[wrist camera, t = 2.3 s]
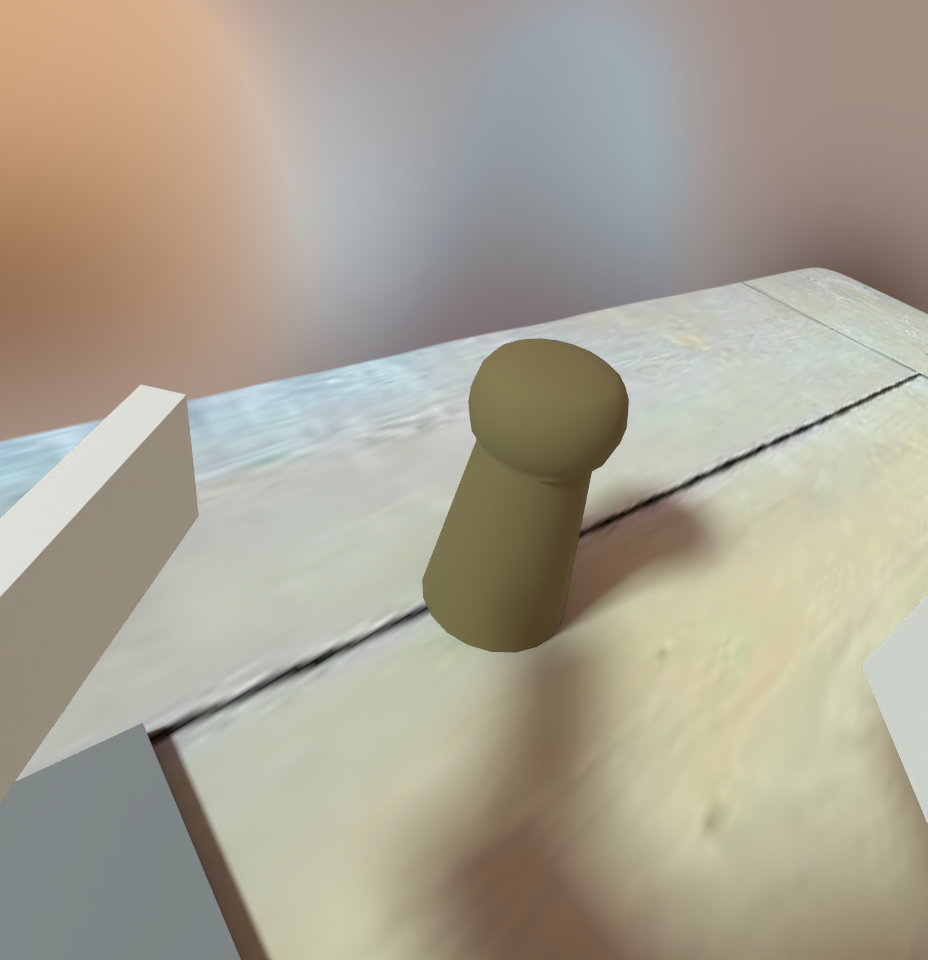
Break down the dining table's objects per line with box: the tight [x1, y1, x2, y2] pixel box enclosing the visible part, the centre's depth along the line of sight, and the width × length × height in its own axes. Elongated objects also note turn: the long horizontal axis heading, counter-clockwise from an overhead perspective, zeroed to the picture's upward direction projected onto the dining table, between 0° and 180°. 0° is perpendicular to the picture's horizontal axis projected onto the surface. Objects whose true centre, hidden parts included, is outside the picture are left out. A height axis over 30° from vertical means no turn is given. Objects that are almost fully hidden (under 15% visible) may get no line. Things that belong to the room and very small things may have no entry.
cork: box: [423, 339, 629, 652], centre depth 24 cm, size 6×6×11 cm
